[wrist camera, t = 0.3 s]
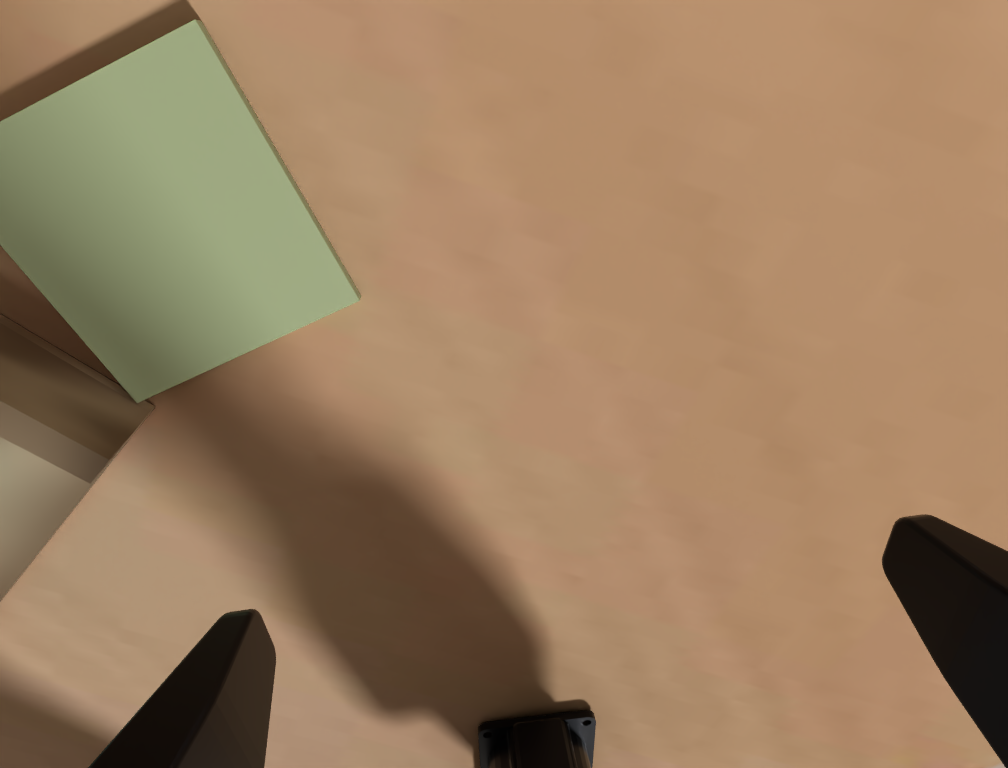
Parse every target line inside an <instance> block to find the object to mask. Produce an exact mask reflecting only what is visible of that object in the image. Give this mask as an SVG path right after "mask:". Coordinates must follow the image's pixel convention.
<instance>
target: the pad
mask: <svg viewBox="0 0 1008 768" xmlns="http://www.w3.org/2000/svg"><path fill="white" fill-rule="evenodd" d="M0 245H1V246H2V248H3V249H4V250H5V251H6V252H7V253H8V254H9V256H10V257H11V258H12V259H13V260H14V261H15V263H16V264H17V265H18V266H19V267H20V268H21V270H22V271H23V272H24V273H25V274H26V275H27V276H28V278H29V279H30V280H31V281H32V282H33V283H34V285H35V286H36V287H37V288H38V289H39V290H40V291H41V293H42V294H43V295H44V296H45V297H46V298H47V300H48V301H49V302H50V303H51V304H52V305H53V307H54V308H55V309H56V310H57V311H58V312H59V313H60V315H61V316H62V317H63V318H64V319H65V320H66V322H67V323H68V324H69V325H70V326H71V327H72V329H73V330H74V331H75V332H76V333H77V334H78V335H79V337H80V338H81V339H82V340H83V341H84V342H85V344H86V345H87V346H88V347H89V348H90V349H91V351H92V352H93V353H94V354H95V355H96V356H97V357H98V359H99V360H100V361H101V362H102V363H103V364H104V366H105V367H106V368H107V369H108V370H109V371H110V373H111V374H112V375H113V376H114V377H115V378H116V379H117V381H118V382H119V383H120V384H121V385H122V386H123V388H124V389H125V390H126V391H127V392H128V393H129V395H130V396H131V397H132V398H133V399H134V400H135V401H136V403H139V402H141V401H143V400H145V399H147V398H149V397H152V396H154V395H156V394H158V393H160V392H162V391H165V390H167V389H169V388H171V387H173V386H176V385H178V384H180V383H182V382H184V381H186V380H189V379H191V378H193V377H195V376H197V375H199V374H202V373H204V372H206V371H208V370H210V369H212V368H215V367H217V366H219V365H221V364H223V363H225V362H228V361H230V360H232V359H234V358H236V357H238V356H241V355H243V354H245V353H247V352H249V351H251V350H254V349H256V348H258V347H260V346H262V345H265V344H267V343H269V342H271V341H273V340H275V339H278V338H280V337H282V336H284V335H286V334H288V333H291V332H293V331H295V330H297V329H299V328H301V327H304V326H306V325H308V324H310V323H312V322H314V321H317V320H319V319H321V318H323V317H325V316H327V315H330V314H332V313H334V312H336V311H338V310H340V309H343V308H345V307H347V306H349V305H351V304H353V303H356V302H358V301H360V298H361V295H360V293H359V292H358V290H357V288H356V286H355V285H354V283H353V281H352V279H351V278H350V276H349V274H348V273H347V271H346V269H345V267H344V266H343V264H342V262H341V260H340V259H339V257H338V255H337V254H336V252H335V250H334V248H333V247H332V245H331V243H330V242H329V240H328V238H327V236H326V235H325V233H324V231H323V229H322V228H321V226H320V224H319V223H318V221H317V219H316V217H315V216H314V214H313V212H312V211H311V209H310V207H309V205H308V204H307V202H306V200H305V198H304V197H303V195H302V193H301V192H300V190H299V188H298V186H297V185H296V183H295V181H294V180H293V178H292V176H291V174H290V173H289V171H288V169H287V167H286V166H285V164H284V162H283V161H282V159H281V157H280V155H279V154H278V152H277V150H276V149H275V147H274V145H273V143H272V142H271V140H270V138H269V136H268V135H267V133H266V131H265V130H264V128H263V126H262V124H261V123H260V121H259V119H258V118H257V116H256V114H255V112H254V111H253V109H252V107H251V105H250V104H249V102H248V100H247V99H246V97H245V95H244V93H243V92H242V90H241V88H240V87H239V85H238V83H237V81H236V80H235V78H234V76H233V74H232V73H231V71H230V69H229V68H228V66H227V64H226V62H225V61H224V59H223V57H222V56H221V54H220V52H219V50H218V49H217V47H216V45H215V43H214V42H213V40H212V38H211V37H210V35H209V33H208V31H207V30H206V28H205V26H204V25H203V23H202V21H199V20H196V19H195V20H193V21H191V22H189V23H187V24H185V25H183V26H181V27H179V28H178V29H176V30H174V31H172V32H170V33H168V34H166V35H164V36H162V37H160V38H158V39H157V40H155V41H153V42H151V43H149V44H147V45H145V46H143V47H141V48H139V49H137V50H136V51H134V52H132V53H130V54H128V55H126V56H124V57H122V58H120V59H118V60H117V61H115V62H113V63H111V64H109V65H107V66H105V67H103V68H101V69H99V70H97V71H96V72H94V73H92V74H90V75H88V76H86V77H84V78H82V79H80V80H78V81H76V82H75V83H73V84H71V85H69V86H67V87H65V88H63V89H61V90H59V91H57V92H56V93H54V94H52V95H50V96H48V97H46V98H44V99H42V100H40V101H38V102H36V103H35V104H33V105H31V106H29V107H27V108H25V109H23V110H21V111H19V112H17V113H15V114H14V115H12V116H10V117H8V118H6V119H4V120H2V121H0Z"/></svg>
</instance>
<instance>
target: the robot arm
mask: <svg viewBox="0 0 1008 768" xmlns="http://www.w3.org/2000/svg"><path fill="white" fill-rule="evenodd" d="M882 565H883V569H884V572H885V575H886V577H887V579H888V580H889V582H890V584H891V586H892V587H893V589H894V591H895V593H896V594H897V596H898V598H899V600H900V602H901V603H902V605H903V607H904V609H905V610H906V612H907V614H908V616H909V617H910V619H911V621H912V623H913V625H914V626H915V628H916V630H917V632H918V633H919V635H920V637H921V639H922V641H923V642H924V644H925V646H926V648H927V649H928V651H929V653H930V655H931V656H932V658H933V660H934V662H935V663H936V665H937V667H938V668H939V670H940V672H941V673H942V675H943V677H944V678H945V680H946V681H947V683H948V684H949V686H950V687H951V689H952V690H953V692H954V693H955V695H956V696H957V698H958V699H959V701H960V702H961V703H962V705H963V706H964V708H965V709H966V711H967V712H968V714H969V715H970V717H971V718H972V719H973V721H974V722H975V724H976V725H977V727H978V728H979V730H980V731H981V732H982V734H983V735H984V737H985V738H986V740H987V741H988V743H989V744H990V746H991V747H992V748H993V750H994V751H995V753H996V754H997V756H998V757H999V759H1000V760H1001V761H1002V763H1003V764H1004V766H1005V767H1006V768H1008V551H1006V550H1004V549H1002V548H1000V547H998V546H996V545H993V544H991V543H989V542H987V541H985V540H983V539H981V538H979V537H977V536H974V535H972V534H970V533H968V532H966V531H964V530H962V529H960V528H958V527H956V526H953V525H951V524H949V523H947V522H945V521H943V520H941V519H939V518H936V517H934V516H931V515H915V516H908V517H902V518H899V519H898V520H897V521H896V522H895V524H894V525H893V528H892V531H891V534H890V537H889V539H888V542H887V545H886V548H885V551H884V554H883V557H882ZM275 666H276V653H275V648H274V645H273V642H272V640H271V638H270V635H269V633H268V631H267V628H266V626H265V624H264V621H263V619H262V617H261V615H260V613H259V612H258V611H257V610H255V609H248V610H241V611H234V612H229V613H226V614H224V615H223V616H222V617H220V618H219V619H218V620H217V622H216V623H215V624H214V625H213V626H212V627H211V628H210V630H209V631H208V632H207V633H206V634H205V635H204V636H203V638H202V639H201V640H200V641H199V642H198V643H197V644H196V646H195V647H194V648H193V649H192V650H191V651H190V652H189V653H188V655H187V656H186V657H185V658H184V659H183V660H182V661H181V663H180V664H179V665H178V666H177V667H176V668H175V669H174V671H173V672H172V673H171V674H170V675H169V676H168V677H167V679H166V680H165V681H164V682H163V683H162V684H161V685H160V687H159V688H158V689H157V690H156V691H155V692H154V693H153V695H152V696H151V697H150V698H149V699H148V700H147V701H146V702H145V704H144V705H143V706H142V707H141V708H140V709H139V710H138V712H137V713H136V714H135V715H134V716H133V717H132V718H131V720H130V721H129V722H128V723H127V724H126V725H125V726H124V728H123V729H122V730H121V731H120V732H119V733H118V734H117V736H116V737H115V738H114V739H113V740H112V741H111V742H110V744H109V745H108V746H107V747H106V748H105V749H104V750H103V751H102V753H101V754H100V755H99V756H98V757H97V758H96V759H95V761H94V762H93V763H92V764H91V765H90V766H89V767H88V768H264V764H265V756H266V747H267V738H268V729H269V720H270V711H271V702H272V693H273V684H274V675H275ZM595 726H596V721H595V717H594V713H593V712H592V711H589V710H584V711H576V712H567V713H559V714H551V715H542V716H534V717H525V718H517V719H509V720H500V721H492V722H485V723H482V724H480V725H479V727H478V738H479V752H480V767H481V768H592V764H593V751H594V738H595Z"/></svg>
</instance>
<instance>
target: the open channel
mask: <svg viewBox="0 0 1008 768" xmlns="http://www.w3.org/2000/svg"><path fill="white" fill-rule="evenodd" d="M154 408H155V406H153V405H152V404H150V403H148V402H147V401H145V400H143V401H141V402H139V403H136V401H135V400H134V399H133V398H132V397H131V396H130V395H129V393H128V392H127V391H126V390H125V389H124V388H123V387H122V386H120V385H118V384H117V383H115V382H113V381H112V380H110V379H108V378H107V377H105V376H103V375H102V374H100V373H98V372H96V371H95V370H93V369H91V368H90V367H88V366H86V365H85V364H83V363H81V362H80V361H78V360H76V359H75V358H73V357H71V356H70V355H68V354H66V353H65V352H63V351H61V350H60V349H58V348H56V347H55V346H53V345H51V344H50V343H48V342H46V341H45V340H43V339H41V338H40V337H38V336H36V335H35V334H33V333H31V332H30V331H28V330H26V329H25V328H23V327H21V326H20V325H18V324H16V323H15V322H13V321H11V320H10V319H8V318H6V317H4V316H3V315H1V314H0V601H1V600H2V599H3V598H4V596H5V595H6V594H7V593H8V591H9V590H10V589H11V588H12V586H13V585H14V584H15V583H16V581H17V580H18V579H19V578H20V576H21V575H22V574H23V573H24V571H25V570H26V569H27V567H28V566H29V565H30V564H31V562H32V561H33V560H34V559H35V557H36V556H37V555H38V554H39V552H40V551H41V550H42V549H43V547H44V546H45V545H46V544H47V542H48V541H49V540H50V539H51V537H52V536H53V535H54V534H55V532H56V531H57V530H58V529H59V527H60V526H61V525H62V523H63V522H64V521H65V520H66V518H67V517H68V516H69V515H70V513H71V512H72V511H73V510H74V508H75V507H76V506H77V505H78V503H79V502H80V501H81V500H82V498H83V497H84V496H85V495H86V493H87V492H88V491H89V490H90V488H91V487H92V486H93V485H94V483H95V482H96V481H97V479H98V478H99V477H100V476H101V474H102V473H103V472H104V471H105V469H106V468H107V467H108V466H109V464H110V463H111V462H112V461H113V459H114V458H115V457H116V456H117V454H118V453H119V452H120V451H121V449H122V448H123V447H124V446H125V444H126V443H127V442H128V441H129V439H130V438H131V437H132V436H133V434H134V433H135V432H136V430H137V429H138V428H139V427H140V425H141V424H142V423H143V422H144V420H145V419H146V418H147V417H148V415H149V414H150V413H151V412H152V410H153V409H154Z"/></svg>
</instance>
